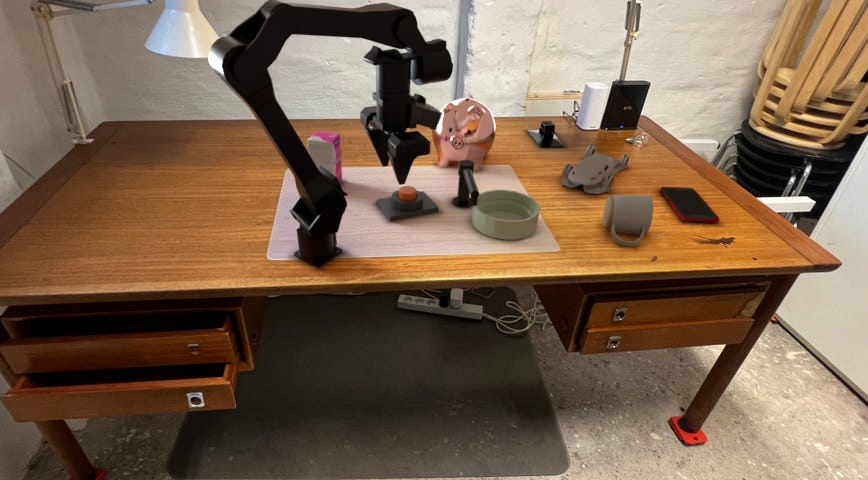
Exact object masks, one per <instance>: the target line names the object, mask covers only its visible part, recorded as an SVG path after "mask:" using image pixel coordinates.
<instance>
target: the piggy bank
mask: <svg viewBox="0 0 868 480" xmlns="http://www.w3.org/2000/svg"><path fill="white" fill-rule="evenodd" d="M468 97H469V98H468ZM468 97H465V98H464V97H463V98H458V99H455V100H452V101H451V102H450V101H449V102H448V103H446V104H445V105H444V106H443V107H441V109H440V110H439V111H440V112H441V113H442V114H441V117H440V119H439V122H438V125H437V127H436V130H432V129H431V136H432V137H431V138H432V139H431V140H432V142H433V146H434V148H435V151H436V153H437V166H438V167H441V168H447V167H449V166H450V164H451V163H458V164H459V161H461V160H470V161H472V162H474V170H473V172H479V171H481V170H482V163H483V160H484V159H485V157H486V156H487V154H489V152H490V150H491V149H492V147H493V145H494V142H495V138H496V131H497V129H496V127H497V126H496V121H495V118H494V115H493V114H492V111H491V110H490V109H489V108H488V106H486V105H485V104H484V103H483V102H481V101H479V100H476V99H474V97H473V95H472V94H471V93H469V94H468Z"/></svg>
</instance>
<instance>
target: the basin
mask: <svg viewBox="0 0 868 480" xmlns="http://www.w3.org/2000/svg"><path fill="white" fill-rule="evenodd" d="M540 211H541V207H540V205H539V202H537V201H536V200H535V199H534V197H532V196H529V195H527V194H525V193H522V192H519V191H515V190H509V189H493V190H492V189H491V190H486V191H483V192H479V197H478V202H477V206H472V207H471V216H470V220H471V225H472V226H473V227H474V229H476V230H477V231H478V232H480V233H481V234H483V235H485V236H488V237H491V238H494V239H500V240H510V241H511V240H515V241H516V240H519V239H524V238H527V237H529V236H531V235H533V234H534V232H536V230H537V226H538V221H539V216H540Z"/></svg>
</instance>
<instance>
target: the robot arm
mask: <svg viewBox="0 0 868 480" xmlns="http://www.w3.org/2000/svg"><path fill="white" fill-rule="evenodd" d="M418 25H419V24H418V20H417V16H416V15H415V13H414V11H413V10H412V9H409V8H405V7H402V6H398V5H395V4H393V3H389V2H378V3H370V4H365V5H362V6H359V7H343V6H342V7H341V6H332V5H321V4H320V5H319V4H309V3H308V4H307V3H300V2H299V3H298V2H287V1H281V0H266V1H265V2H264V3H263V4H262V5H261V6H260V7H259V8H258V9H257V10H256V11H255V12H254V14H252V15H250V16H249V17H248V18H246V19H245V20H243V21H242V22H240V23H239V24H238V25H237V26H236V27H235V28H233V29H232V31H230V32H229V34H228V35H227V36H222V37H219V38H217V39H216V40H215V41H214V42H212V44H211V45H210V48H209V51H208V57H207V59H208V63H209V65H210V68H211V69H212V71H213V73H215V74H216V75H217V76H218V77H219V78H220V79H221V80H222V81H223V83H224V84H225V85H226V86H227V87H228V88H229V89H230V90H231V91H232V92H233V93H234V94H235V95H236V96H237V97H238V98H239V99H240V100H241V101H242V102H243V103H244V104H245V105H246V106H247V107H248V109H249V110H250V112H251V114H252V115H253V116H254V118H255V119H256V121H257V122H258V124H259V125H260V127H261V129H262V130H263V132H264V133H265V135H266V136H267V137H268V139H269V140H270V143H272V145H273V147H274V148H275V149H276V151H277V153H278V154H279V155H280V157H281V159H282V160H283V161H284V163H285V165H286V166H287V168H288V169H289V171H290V173H291V174H292V175H293V177H294V182H295V187H296V190H297V192H298V198H297V199H296V200H295V202H293V204H292V206H291V207H290V208H289V212H290V214H291V216H292V218H293V219H294V220H296V221H297V222H298V223H299V225H298V228H296V236H297V242H298V250H296V251H294V253H293V257H295V258H297V259H300V260H301V261H304V262H306V263H308V264H310V265H312V266H314V267H316V268H321V267H324V265H326V264H327V263H329V262H330V261H332V260H334V259H335V258H336V257H338V256H339V255H341V254H342V253H343V249H342V248H340V247H338V245H337V244H338V242H337V233H339V229H340V226H341V222H342V218H343V215H344V214H345V212H346V209H347V207H348V201H347V198H346V197H347V196H348V193H347V192H346V191H345V190H344V189H343V188H342V185H341V182H339V180H338V178H337V177H336V176H335V175H333V174H332V173H331V172H330V171H329V170H327V169H326V168H325V167H324V166H323V165H321V166H320V167H319V168H317V166H316V164H315V163H314V161H313V159H312V158H311V156H310V154H309V153H308V148H306V146H305V144H304V143H303V141H302V139H301V138H300V136H299V134H298V133H297V131H296V129H295V128H294V126H293V124H292V123H291V121H290V119H289V118H288V117H287V114H286V113H285V112H284V110H283V108H282V107H281V105H280V104H279V102H278V100H277V97H276V93H275V87H274V83H273V80H272V76H271V74H270V72H269V68H270V66H272V64H274V62H275V61H276V60H277V59H278V57H279V55H280V53H281V51H282V49H283V47H284V45H285V44H286V42H287V41H288V40H289V38H291V36H292V35H294V36H295V35H297V36H313V37H314V36H316V37H331V38H334V37H335V38H349V39H350V38H351V39H363V40H366V41H369V42H373V43H376V44H379V45H383V46H387V47H390V48H389V49H382V48H381V47H380V46H379V47H378V46H377V45H372V47H371V48H370V49H369V51H367V53H365V55H363V57H362V59H363V61H364V62H366V63H368V64H371V65H373V66H375V87H376V88H375V92H374V91H373V92H372V100H374V101H375V103H376V104H375V105H371V106H364V107H363V108H362V110H361V111H360V112H359V120H360V124H361V125H362V126H363V129H364V131H365V132H366V135H367V136H368V139H369V141H370V142H371V145H372V147H373V149H374V151H375V153H376V156H377V158H378V160H379V162H380V165H381V166H382V167H383V168H385V167H388V166H389V163H391V167H392V170H393V173H394V176H395V179H396V181H397V183H398V184H397V185H400V186H402V185H405V184H406V182H407V179H408V176H409V173H410V171H411V168H412V165H413V163H414V162H415V160H416V159H417V158H419V157H421V156H422V157H423V156H427V155H430V154H431V147H432V146H431V144H432V142H431V141H430V140H429V139H428V138H427V137H426V136H425V135H423V134H422V133H421V132H420V131H419V130H413V131H412V129H417V127H418V126H422V127H426V128H429V129H430V130H431V131H432V130H436V127H437V125H438V122H439V119H440V117H441V114H442V113H441V112H440V110H439V109H438V108H436V107H435V106H433V105H431V104H430V103H427V98H426V97H425V96H424V95H422V94H419V93H414V94H413V95H412V94H411V81H412V83H413V84H414V85H415V86H424V85H429V84H436V83H442V82H446V81H448V80H449V79H450V78H451V77H452V74H453V72H454V63H453V59H452V55H451V53H450V51H449V50H448V48H447V41H446V39H442V38H434V39H431V40H426V39H425V38H424V36H423V34H422V32H421V30H420V29H419V26H418ZM399 50H405V51H406V52H401V51H399ZM408 129H410V130H411V131H407V130H408Z"/></svg>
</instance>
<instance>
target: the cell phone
mask: <svg viewBox="0 0 868 480" xmlns="http://www.w3.org/2000/svg"><path fill="white" fill-rule="evenodd" d="M659 192H660V193H661V194H662V195H663V197H664V198H665V199H666V201H667V202H668V204H669V205H670V206H671V208H672V209H673V210H674V212H675V214H676V215H677V216H678V217H679V218H680V220H681V221H683V222H685V223H707V224H718V223H719V221H720V217H719V215H717V214H716V212H715V211H714V209H712V208H711V206H710V205H709V204H708V203H707V202H706V200H704V199H703V198H702V197H701V195H700V194H699V193H698V192H697V190H695V189H694V188H692V187H681V186H680V187H677V186H661V187H660V190H659Z"/></svg>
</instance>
